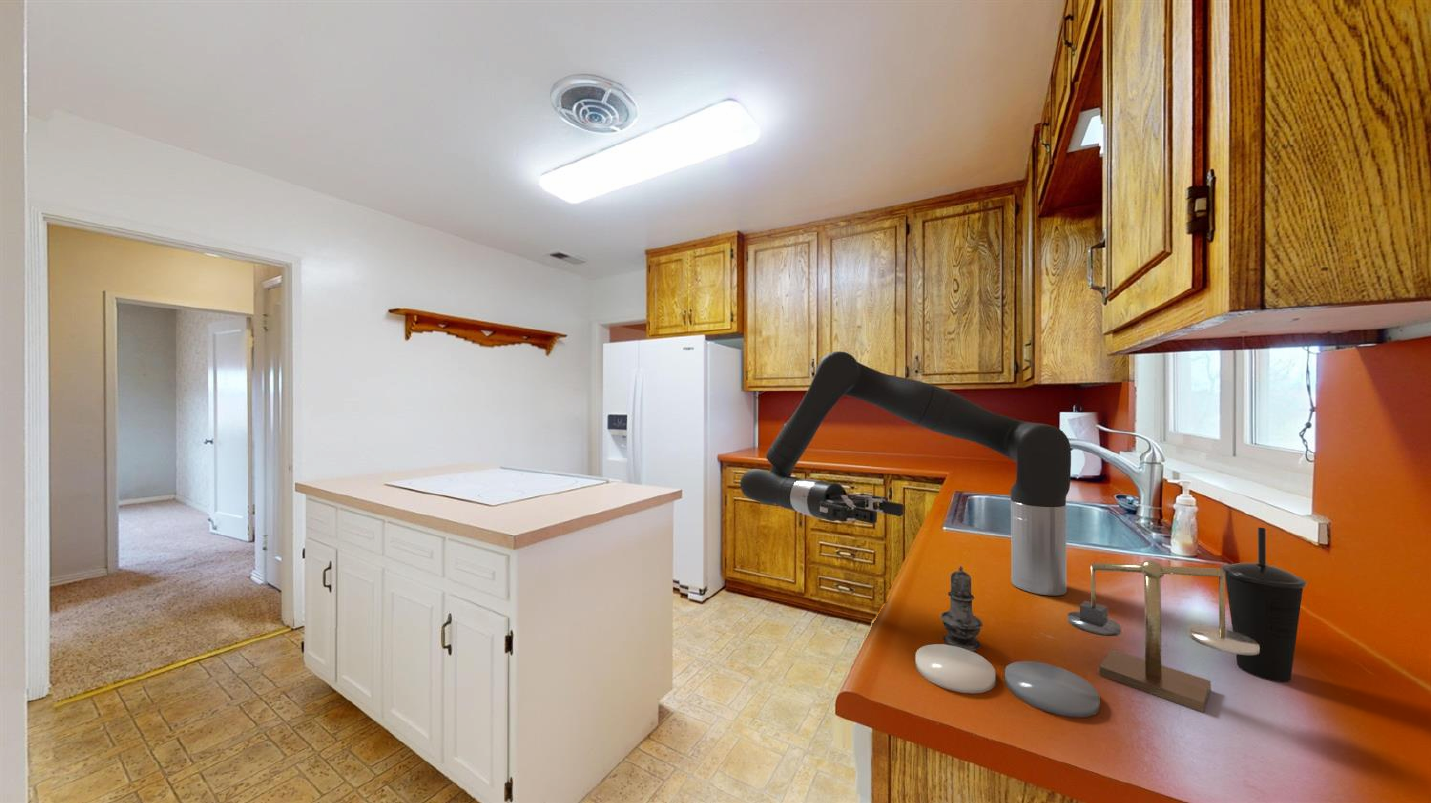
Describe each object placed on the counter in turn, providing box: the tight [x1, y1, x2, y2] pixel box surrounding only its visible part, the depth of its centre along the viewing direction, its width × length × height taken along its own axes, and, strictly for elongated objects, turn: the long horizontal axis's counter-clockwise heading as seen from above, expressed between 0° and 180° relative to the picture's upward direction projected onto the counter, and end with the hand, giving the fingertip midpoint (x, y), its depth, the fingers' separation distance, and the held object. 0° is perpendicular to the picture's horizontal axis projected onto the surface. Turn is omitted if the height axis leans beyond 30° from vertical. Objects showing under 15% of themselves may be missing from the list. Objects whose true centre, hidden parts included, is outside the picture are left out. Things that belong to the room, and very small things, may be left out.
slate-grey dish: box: [1004, 660, 1101, 718], centre depth 61 cm, size 10×10×1 cm
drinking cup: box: [1221, 527, 1307, 683], centre depth 65 cm, size 8×8×20 cm
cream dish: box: [914, 643, 996, 694], centre depth 66 cm, size 10×10×1 cm
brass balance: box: [1067, 559, 1260, 713], centre depth 63 cm, size 7×19×17 cm, turn 38°
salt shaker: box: [940, 565, 983, 652], centre depth 74 cm, size 6×6×12 cm
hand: (889, 513), depth 83 cm, fingers open, 8 cm apart
